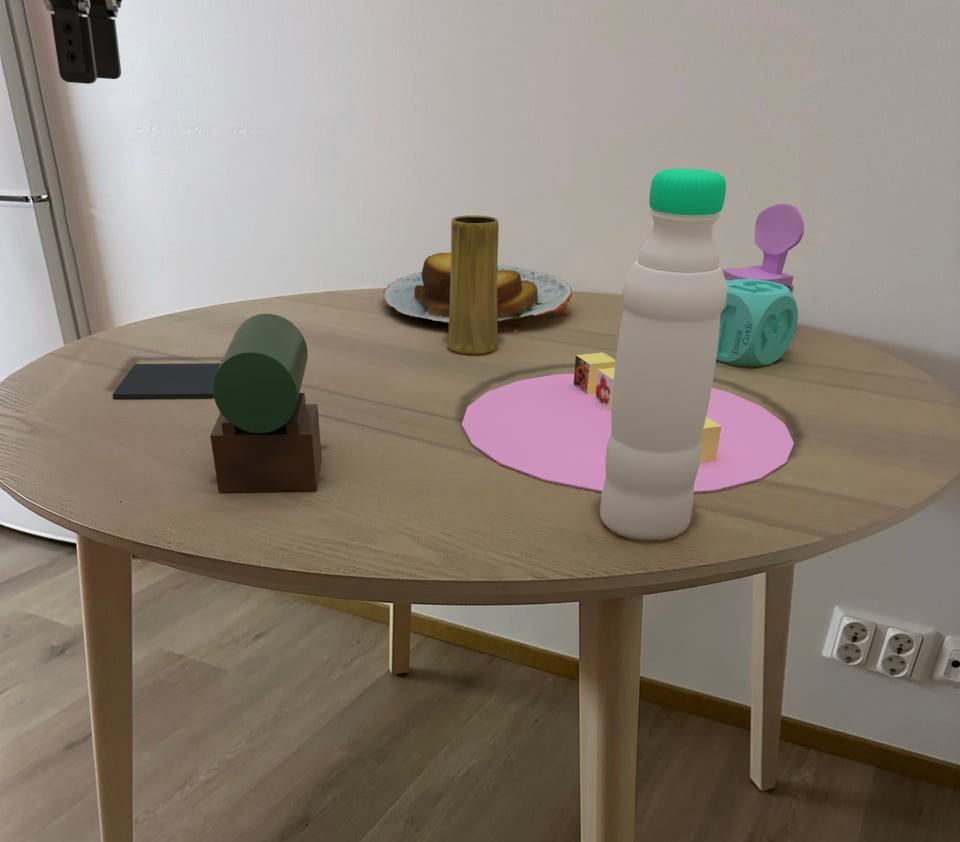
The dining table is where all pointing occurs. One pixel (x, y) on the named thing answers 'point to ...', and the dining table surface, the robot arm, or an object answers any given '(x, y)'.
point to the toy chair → (773, 245)
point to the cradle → (269, 454)
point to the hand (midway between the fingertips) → (93, 80)
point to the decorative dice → (756, 322)
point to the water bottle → (665, 360)
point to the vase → (473, 285)
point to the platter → (587, 426)
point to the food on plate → (515, 292)
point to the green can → (261, 374)
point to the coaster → (168, 381)
